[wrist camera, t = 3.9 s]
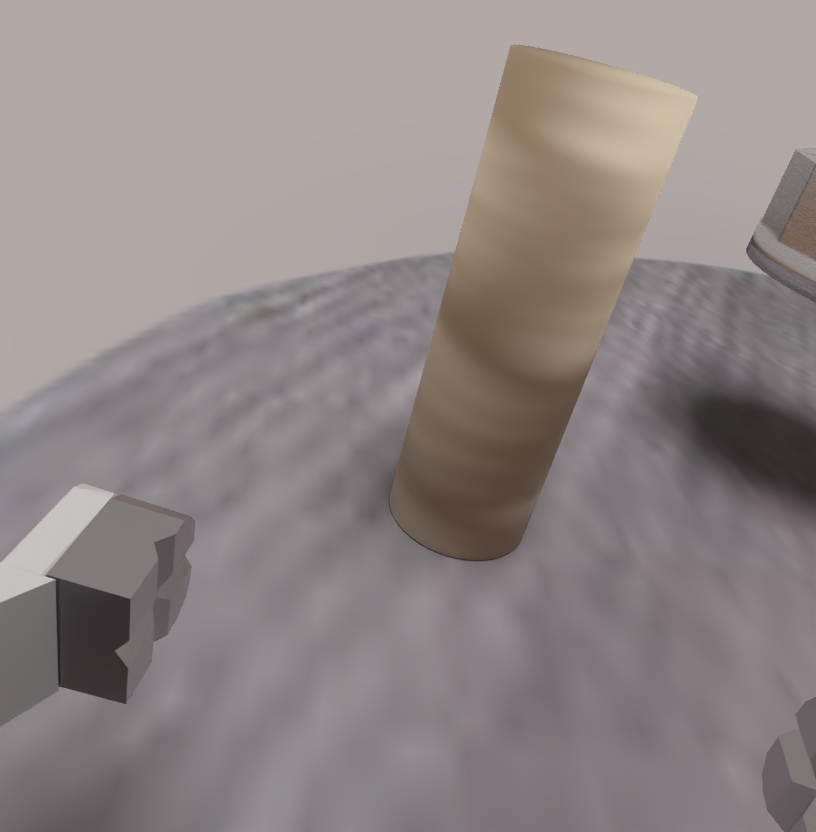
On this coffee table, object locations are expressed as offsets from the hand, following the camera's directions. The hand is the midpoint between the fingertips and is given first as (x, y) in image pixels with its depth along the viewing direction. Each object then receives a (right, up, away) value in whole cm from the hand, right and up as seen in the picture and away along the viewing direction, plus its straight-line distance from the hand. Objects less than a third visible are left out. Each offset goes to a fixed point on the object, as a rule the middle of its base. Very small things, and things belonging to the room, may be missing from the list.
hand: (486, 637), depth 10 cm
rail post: (0, 0, +12) cm, 12 cm away
